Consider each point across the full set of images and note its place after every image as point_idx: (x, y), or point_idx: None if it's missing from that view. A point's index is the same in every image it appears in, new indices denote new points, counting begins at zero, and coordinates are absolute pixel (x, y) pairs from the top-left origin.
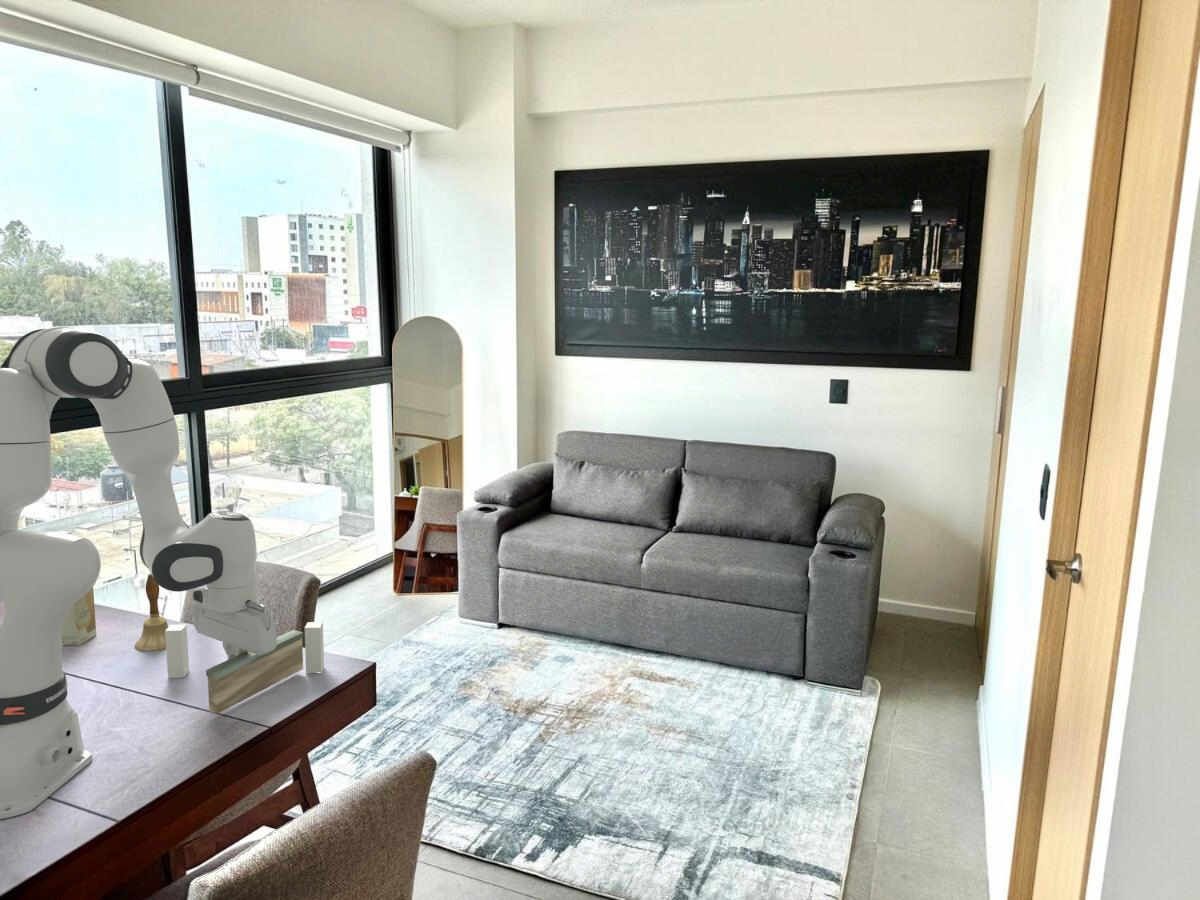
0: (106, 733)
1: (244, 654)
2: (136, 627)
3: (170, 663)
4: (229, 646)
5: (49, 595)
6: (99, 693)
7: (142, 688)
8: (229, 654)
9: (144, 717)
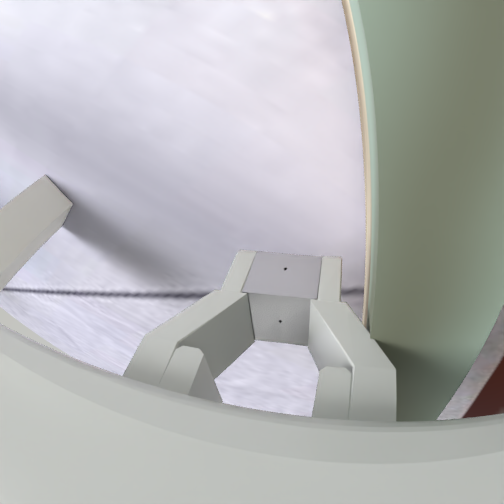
0: (240, 391)
1: (398, 373)
2: None
3: (37, 248)
4: (216, 387)
5: None
6: (81, 317)
7: (89, 280)
8: (245, 345)
9: None
